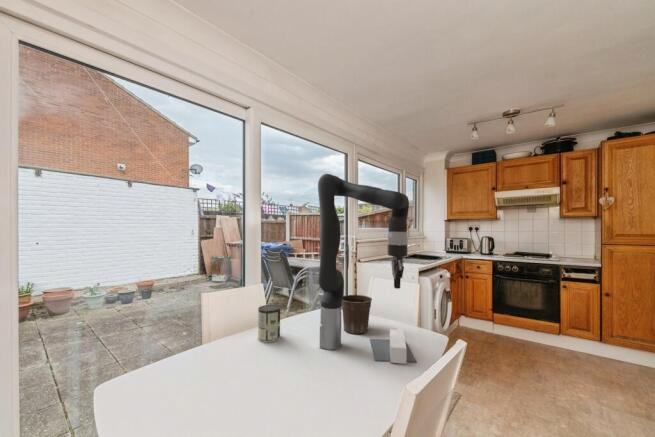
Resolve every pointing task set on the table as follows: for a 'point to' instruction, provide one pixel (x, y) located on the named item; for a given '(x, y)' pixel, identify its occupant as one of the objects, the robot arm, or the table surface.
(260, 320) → the coffee can
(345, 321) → the plant pot
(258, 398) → the table surface
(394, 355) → the milk
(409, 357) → the mat
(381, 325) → the table surface
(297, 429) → the table surface
